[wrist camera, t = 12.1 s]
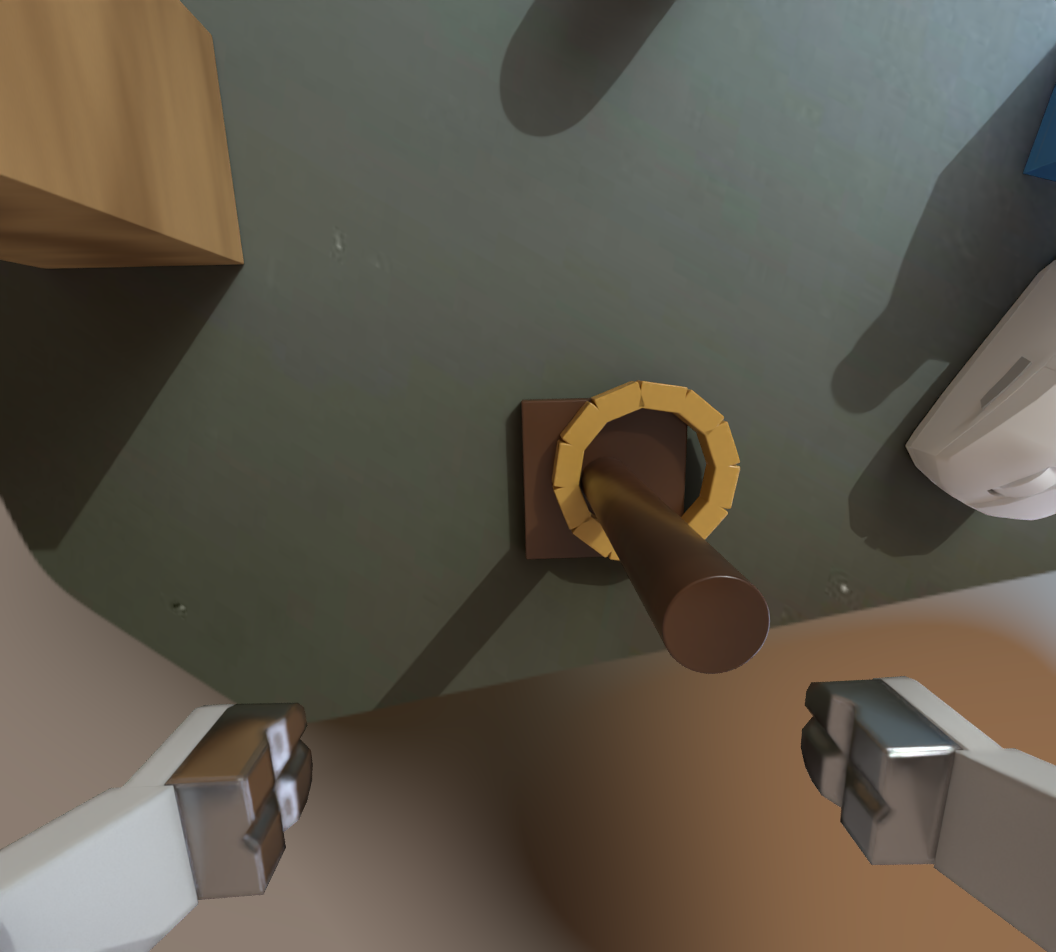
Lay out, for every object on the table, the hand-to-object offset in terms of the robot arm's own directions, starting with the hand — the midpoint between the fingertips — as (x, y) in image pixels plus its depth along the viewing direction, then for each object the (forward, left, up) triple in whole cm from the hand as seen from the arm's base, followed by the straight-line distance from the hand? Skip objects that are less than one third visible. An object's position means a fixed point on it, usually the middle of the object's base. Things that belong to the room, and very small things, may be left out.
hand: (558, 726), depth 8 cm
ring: (+6, 0, -17) cm, 18 cm away
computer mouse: (+25, +4, -18) cm, 31 cm away
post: (+4, 0, -18) cm, 18 cm away
